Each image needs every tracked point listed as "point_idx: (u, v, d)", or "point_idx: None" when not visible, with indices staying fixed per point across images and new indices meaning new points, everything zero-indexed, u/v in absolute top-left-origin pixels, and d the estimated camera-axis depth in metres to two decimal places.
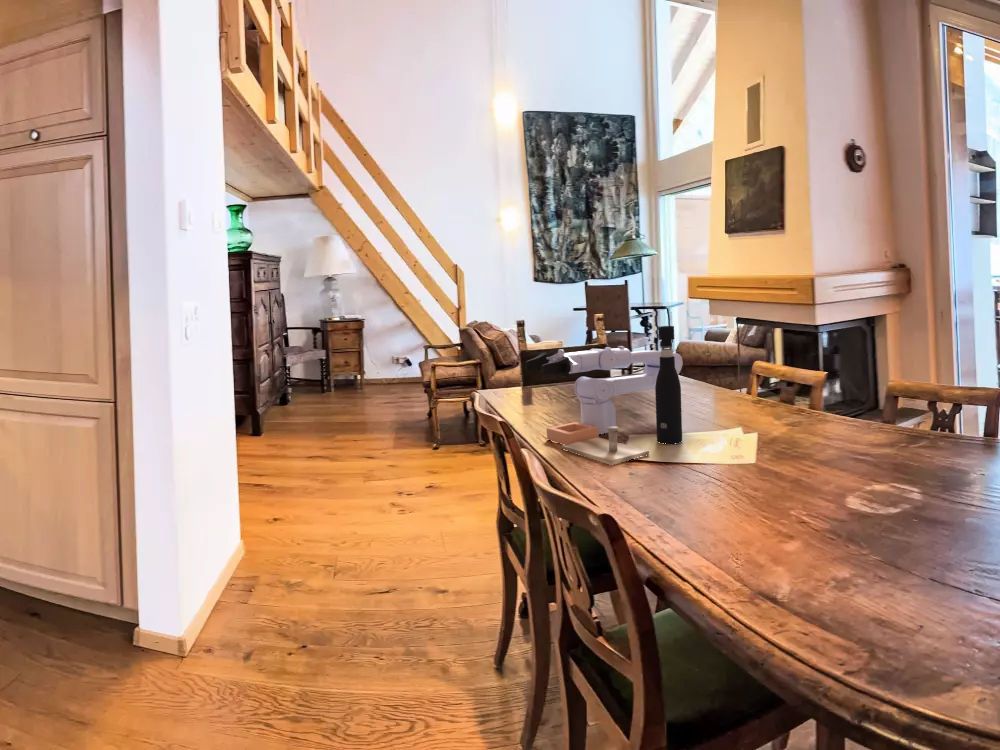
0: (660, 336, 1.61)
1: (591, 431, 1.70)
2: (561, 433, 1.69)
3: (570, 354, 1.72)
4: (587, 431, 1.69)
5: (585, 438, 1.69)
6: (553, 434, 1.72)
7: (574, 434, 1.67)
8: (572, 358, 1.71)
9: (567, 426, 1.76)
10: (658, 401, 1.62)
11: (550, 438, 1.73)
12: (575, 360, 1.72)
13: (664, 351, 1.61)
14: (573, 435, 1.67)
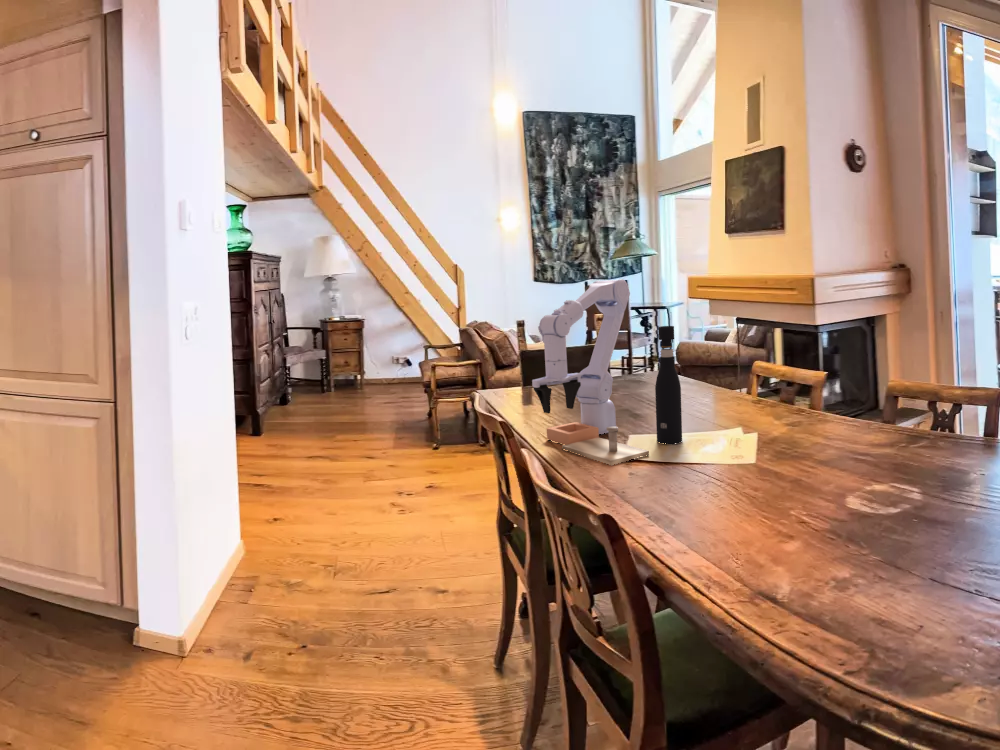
0: (660, 336, 1.61)
1: (591, 431, 1.70)
2: (561, 433, 1.69)
3: (565, 369, 1.67)
4: (587, 431, 1.69)
5: (585, 438, 1.69)
6: (553, 434, 1.72)
7: (574, 434, 1.67)
8: None
9: (567, 426, 1.76)
10: (658, 401, 1.62)
11: (550, 438, 1.73)
12: None
13: (664, 351, 1.61)
14: (573, 435, 1.67)
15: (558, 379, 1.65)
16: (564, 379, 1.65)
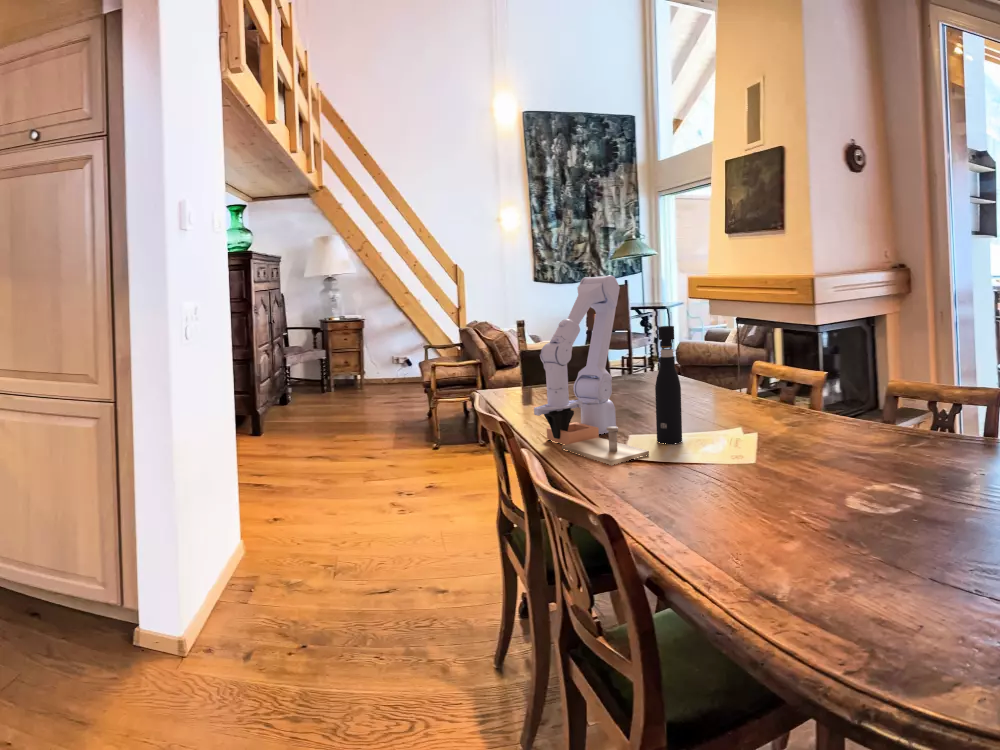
0: (660, 336, 1.61)
1: (591, 431, 1.70)
2: (561, 433, 1.69)
3: (567, 397, 1.68)
4: (587, 431, 1.69)
5: (585, 438, 1.69)
6: None
7: (574, 434, 1.67)
8: (568, 396, 1.69)
9: None
10: (658, 401, 1.62)
11: (550, 438, 1.73)
12: None
13: (664, 351, 1.61)
14: (573, 435, 1.67)
15: (560, 407, 1.67)
16: (565, 407, 1.66)
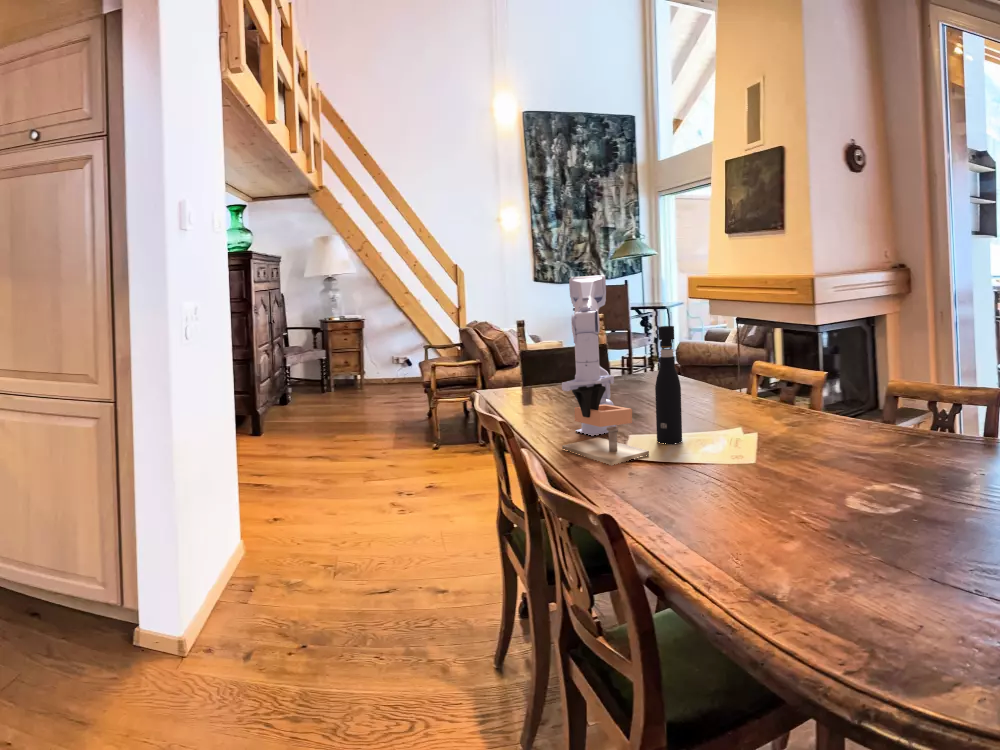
0: (660, 336, 1.61)
1: (624, 412, 1.55)
2: (591, 412, 1.54)
3: (598, 371, 1.52)
4: (620, 411, 1.54)
5: (617, 419, 1.54)
6: None
7: (606, 413, 1.52)
8: (599, 371, 1.54)
9: None
10: (658, 401, 1.62)
11: (578, 418, 1.58)
12: None
13: (664, 351, 1.61)
14: (605, 414, 1.52)
15: (590, 382, 1.51)
16: (597, 382, 1.51)
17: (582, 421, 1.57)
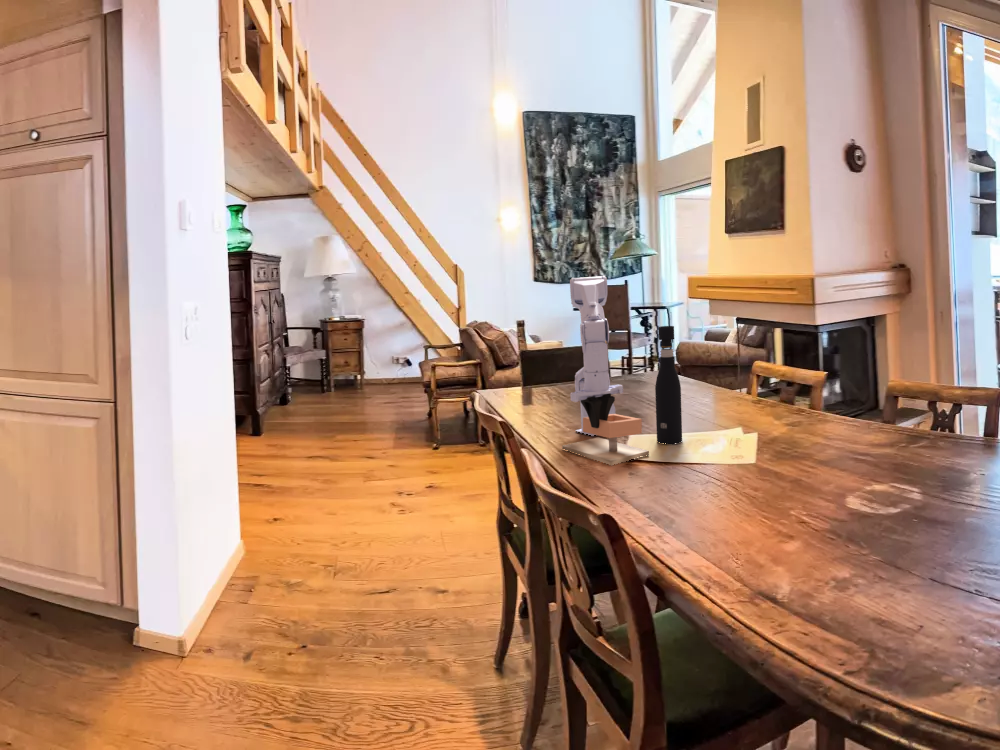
0: (660, 336, 1.61)
1: (634, 422, 1.52)
2: (600, 422, 1.51)
3: (607, 381, 1.49)
4: (629, 422, 1.51)
5: (627, 429, 1.51)
6: (590, 424, 1.54)
7: (615, 424, 1.49)
8: None
9: None
10: (658, 401, 1.62)
11: (586, 429, 1.55)
12: None
13: (664, 351, 1.61)
14: (615, 425, 1.49)
15: (599, 392, 1.48)
16: (606, 392, 1.48)
17: (591, 432, 1.54)
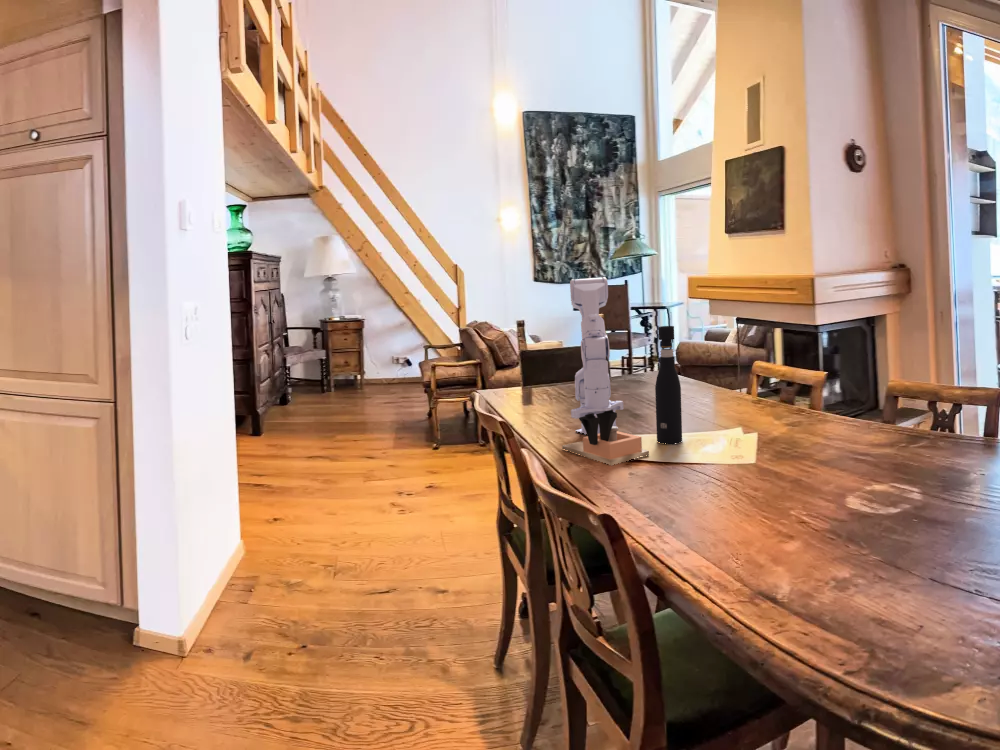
0: (660, 336, 1.61)
1: (633, 441, 1.52)
2: (600, 443, 1.51)
3: (608, 398, 1.50)
4: (629, 441, 1.52)
5: (627, 449, 1.51)
6: (591, 444, 1.54)
7: (615, 444, 1.49)
8: None
9: None
10: (658, 401, 1.62)
11: (587, 448, 1.56)
12: None
13: (664, 351, 1.61)
14: (615, 446, 1.49)
15: (600, 409, 1.49)
16: (607, 409, 1.48)
17: (591, 452, 1.55)
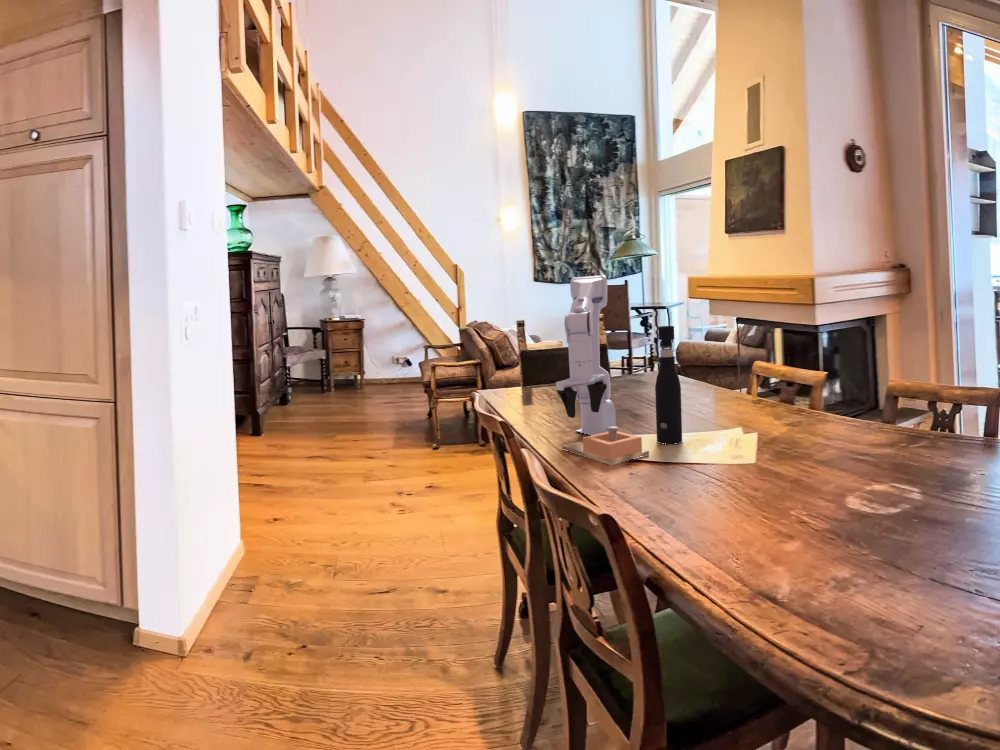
0: (660, 336, 1.61)
1: (633, 441, 1.52)
2: (600, 443, 1.51)
3: (591, 370, 1.56)
4: (629, 441, 1.52)
5: (627, 449, 1.51)
6: (591, 444, 1.54)
7: (615, 444, 1.49)
8: (592, 370, 1.58)
9: (605, 435, 1.59)
10: (658, 401, 1.62)
11: (587, 448, 1.56)
12: None
13: (664, 351, 1.61)
14: (615, 446, 1.49)
15: (584, 381, 1.55)
16: (590, 381, 1.55)
17: (591, 452, 1.55)
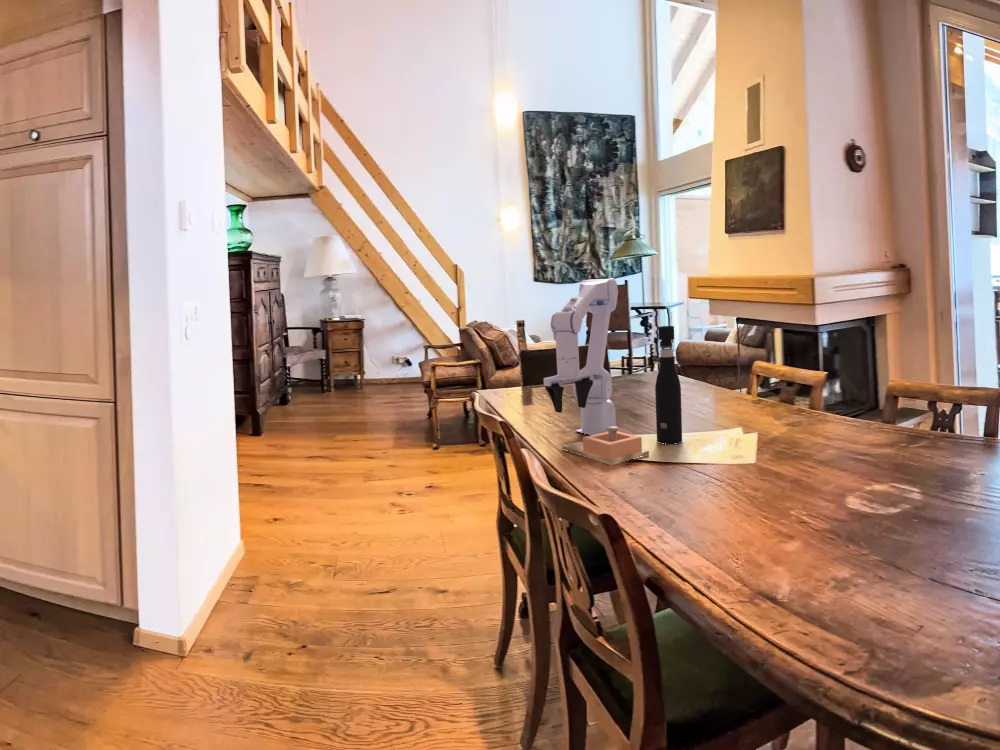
0: (660, 336, 1.61)
1: (633, 441, 1.52)
2: (600, 443, 1.51)
3: (578, 367, 1.62)
4: (629, 441, 1.52)
5: (627, 449, 1.51)
6: (591, 444, 1.54)
7: (615, 444, 1.49)
8: None
9: (605, 435, 1.59)
10: (658, 401, 1.62)
11: (587, 448, 1.56)
12: None
13: (664, 351, 1.61)
14: (615, 446, 1.49)
15: (570, 377, 1.61)
16: (576, 377, 1.61)
17: (591, 452, 1.55)
